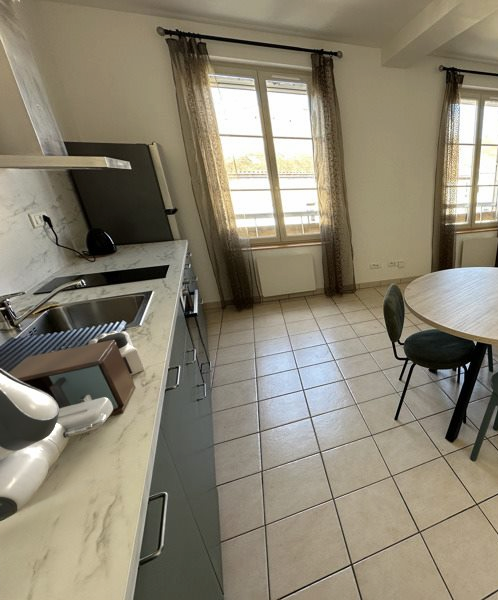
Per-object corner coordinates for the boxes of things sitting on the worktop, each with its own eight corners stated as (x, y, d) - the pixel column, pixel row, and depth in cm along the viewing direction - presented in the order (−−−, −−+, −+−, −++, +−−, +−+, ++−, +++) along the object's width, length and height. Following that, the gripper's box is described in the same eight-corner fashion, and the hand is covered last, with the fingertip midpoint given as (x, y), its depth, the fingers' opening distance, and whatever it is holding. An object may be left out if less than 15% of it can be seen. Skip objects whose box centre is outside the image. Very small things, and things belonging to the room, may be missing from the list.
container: (145, 369, 104) (130, 333, 98) (116, 382, 98) (98, 345, 93) (135, 363, 107) (120, 327, 102) (106, 375, 101) (88, 338, 96)
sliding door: (65, 431, 78) (39, 386, 73) (74, 417, 82) (50, 374, 77) (111, 418, 81) (89, 375, 76) (118, 406, 85) (98, 364, 80)
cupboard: (32, 437, 78) (-3, 382, 72) (55, 407, 88) (26, 357, 82) (123, 412, 85) (98, 360, 79) (135, 387, 95) (114, 339, 89)
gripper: (94, 414, 68) (115, 379, 80) (-44, 451, 61) (2, 405, 72) (106, 437, 71) (125, 399, 82) (-25, 475, 63) (16, 427, 75)
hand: (66, 402), depth 77 cm, fingers open, 6 cm apart
